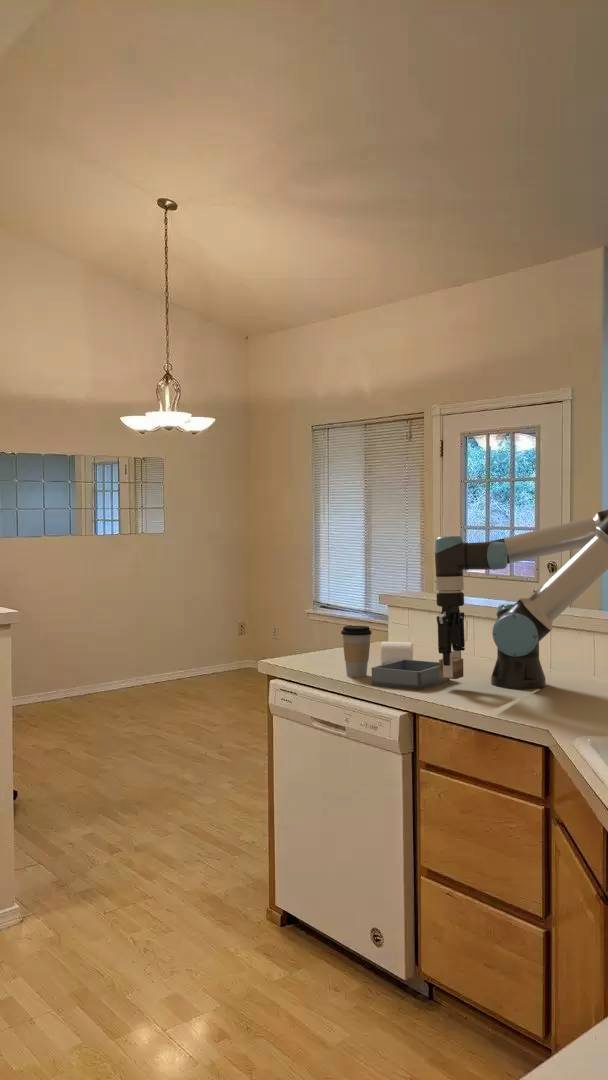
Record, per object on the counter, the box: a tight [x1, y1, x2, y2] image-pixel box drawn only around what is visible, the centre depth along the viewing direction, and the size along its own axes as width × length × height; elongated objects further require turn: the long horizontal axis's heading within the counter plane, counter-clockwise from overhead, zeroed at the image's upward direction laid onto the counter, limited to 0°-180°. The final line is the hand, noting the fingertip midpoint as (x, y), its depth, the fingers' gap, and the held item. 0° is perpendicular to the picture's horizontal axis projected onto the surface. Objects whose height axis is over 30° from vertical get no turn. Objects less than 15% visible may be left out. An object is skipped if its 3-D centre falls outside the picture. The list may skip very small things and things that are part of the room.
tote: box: [371, 659, 450, 691], centre depth 248 cm, size 15×20×5 cm
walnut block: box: [438, 658, 464, 680], centre depth 237 cm, size 5×5×5 cm
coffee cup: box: [340, 625, 372, 678], centre depth 259 cm, size 9×9×15 cm
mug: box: [380, 641, 414, 665], centre depth 281 cm, size 12×10×8 cm
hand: (452, 675), depth 236 cm, fingers closed on walnut block, 5 cm apart
